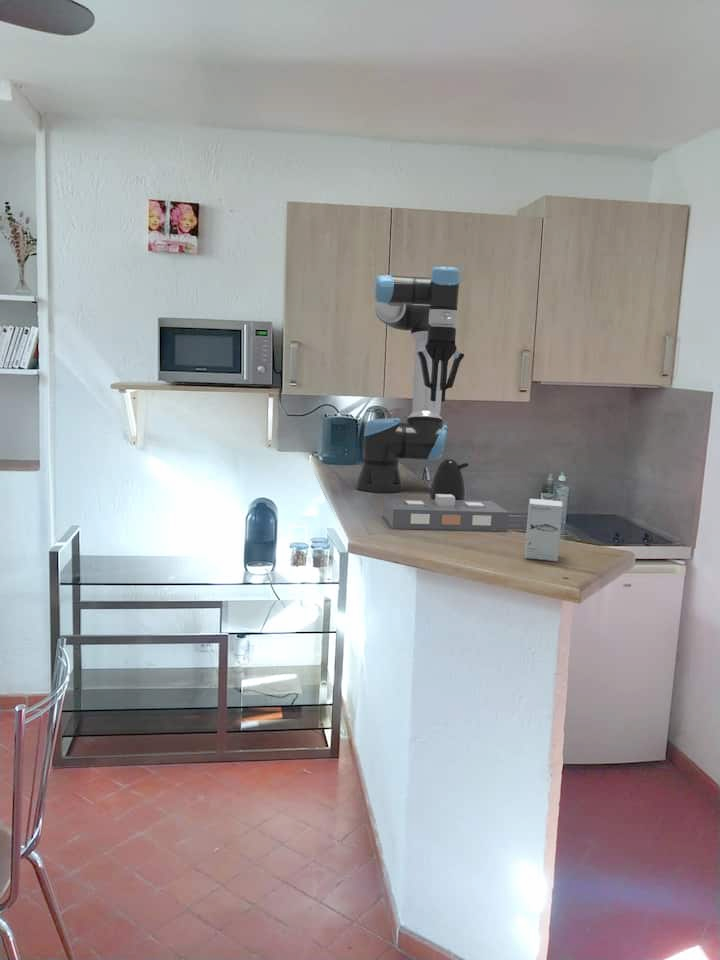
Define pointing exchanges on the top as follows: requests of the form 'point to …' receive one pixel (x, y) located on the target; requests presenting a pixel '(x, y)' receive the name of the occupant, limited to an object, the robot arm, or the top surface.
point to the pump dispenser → (449, 480)
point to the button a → (414, 503)
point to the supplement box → (543, 529)
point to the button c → (474, 505)
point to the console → (444, 516)
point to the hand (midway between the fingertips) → (436, 413)
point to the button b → (444, 500)
